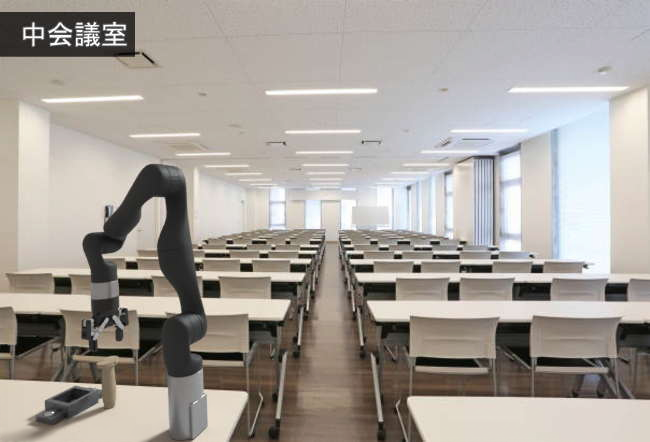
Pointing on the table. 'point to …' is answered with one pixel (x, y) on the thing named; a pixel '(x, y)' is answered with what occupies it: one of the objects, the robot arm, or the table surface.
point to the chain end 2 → (85, 398)
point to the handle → (108, 380)
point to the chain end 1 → (57, 408)
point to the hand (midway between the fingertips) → (107, 345)
